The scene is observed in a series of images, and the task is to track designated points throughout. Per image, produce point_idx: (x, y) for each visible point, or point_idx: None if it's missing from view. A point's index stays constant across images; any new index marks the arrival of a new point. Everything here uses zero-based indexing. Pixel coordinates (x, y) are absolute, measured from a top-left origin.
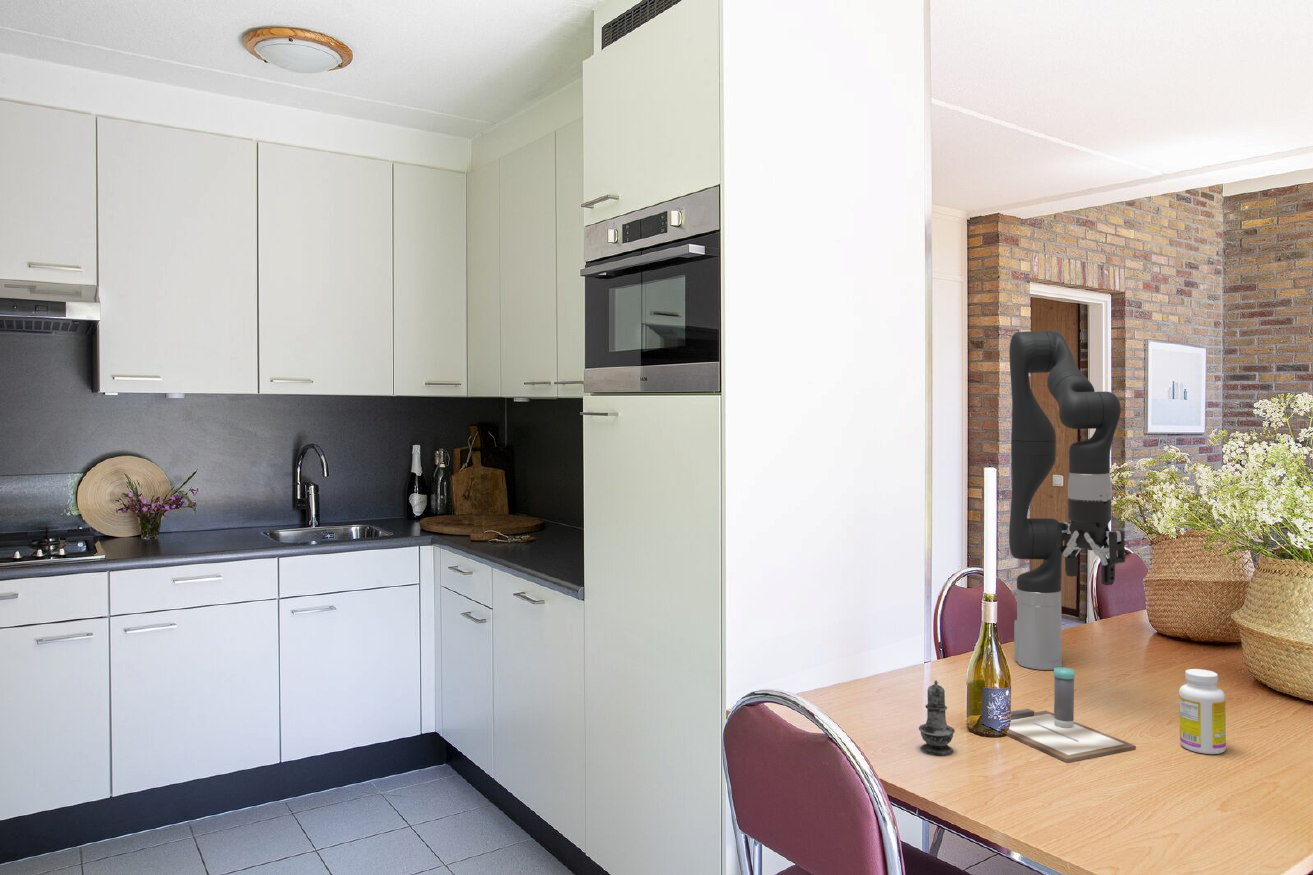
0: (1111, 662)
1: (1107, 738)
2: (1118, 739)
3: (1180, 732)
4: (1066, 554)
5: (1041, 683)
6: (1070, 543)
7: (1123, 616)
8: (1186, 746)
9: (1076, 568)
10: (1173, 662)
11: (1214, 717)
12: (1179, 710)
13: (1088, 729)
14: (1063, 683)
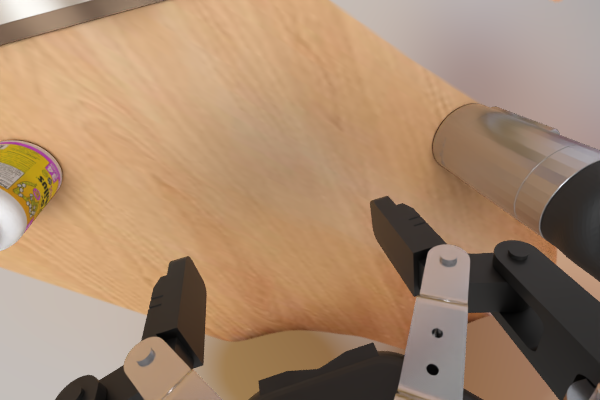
0: None
1: (17, 11)
2: (21, 35)
3: (15, 148)
4: (438, 258)
5: (383, 87)
6: (441, 332)
7: None
8: (4, 141)
9: (386, 250)
10: (400, 295)
11: None
12: (3, 167)
13: (84, 7)
14: None
